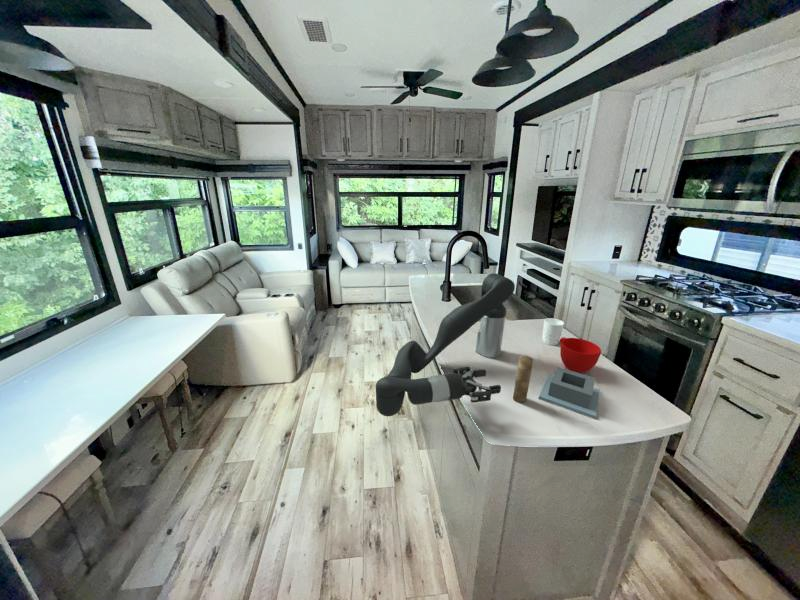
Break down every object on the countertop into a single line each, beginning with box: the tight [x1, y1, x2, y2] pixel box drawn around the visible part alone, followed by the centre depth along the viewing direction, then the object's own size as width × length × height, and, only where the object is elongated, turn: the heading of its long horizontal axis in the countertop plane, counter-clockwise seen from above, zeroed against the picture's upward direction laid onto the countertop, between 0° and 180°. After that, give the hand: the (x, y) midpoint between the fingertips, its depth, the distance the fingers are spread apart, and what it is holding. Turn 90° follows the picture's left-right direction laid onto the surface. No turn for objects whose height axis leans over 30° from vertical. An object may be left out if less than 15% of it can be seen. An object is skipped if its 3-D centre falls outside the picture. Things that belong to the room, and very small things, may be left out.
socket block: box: [538, 366, 601, 420], centre depth 101 cm, size 16×16×6 cm
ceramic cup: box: [559, 337, 602, 374], centre depth 118 cm, size 13×17×10 cm
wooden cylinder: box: [512, 354, 534, 404], centre depth 97 cm, size 4×4×15 cm
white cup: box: [541, 317, 565, 346], centre depth 137 cm, size 8×8×10 cm
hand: (492, 380), depth 94 cm, fingers open, 8 cm apart
